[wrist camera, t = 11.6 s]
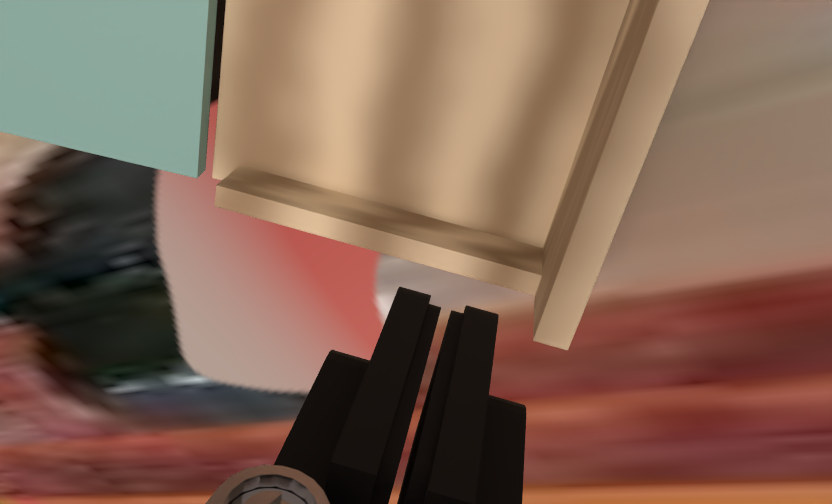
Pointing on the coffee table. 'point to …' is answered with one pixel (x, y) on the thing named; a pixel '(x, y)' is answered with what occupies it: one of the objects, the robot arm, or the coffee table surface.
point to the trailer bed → (451, 129)
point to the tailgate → (111, 77)
